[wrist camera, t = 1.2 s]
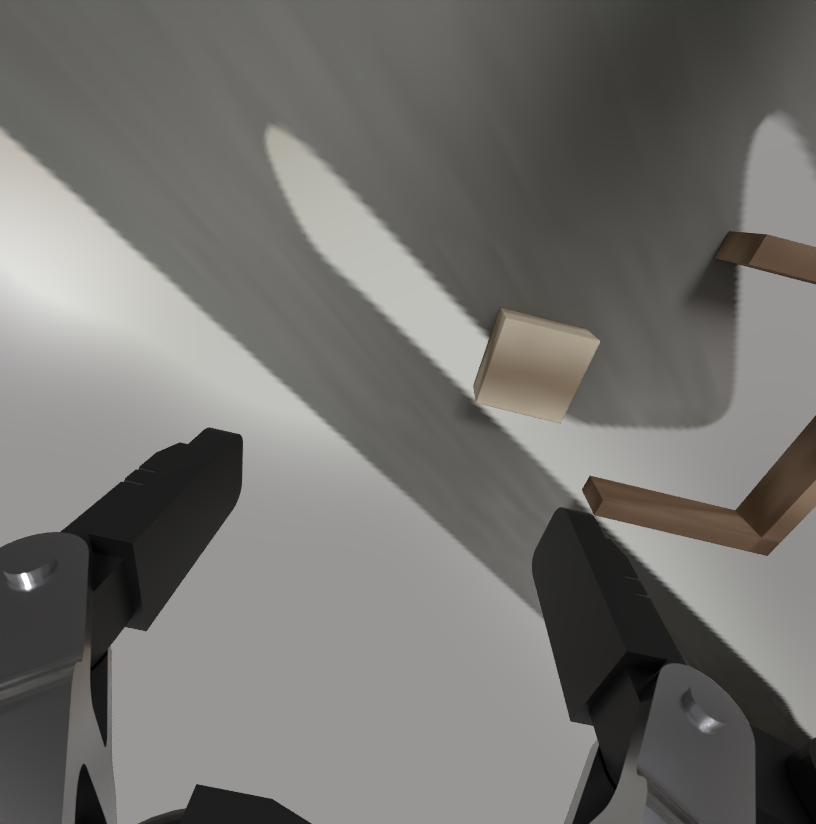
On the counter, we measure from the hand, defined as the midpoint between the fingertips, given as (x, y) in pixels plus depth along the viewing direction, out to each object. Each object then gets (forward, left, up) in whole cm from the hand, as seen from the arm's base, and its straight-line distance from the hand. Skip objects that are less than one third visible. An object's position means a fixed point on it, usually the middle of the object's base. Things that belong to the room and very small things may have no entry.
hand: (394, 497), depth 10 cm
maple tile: (+1, +8, -19) cm, 21 cm away
